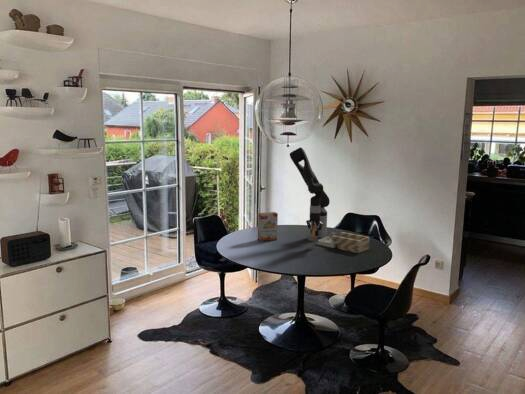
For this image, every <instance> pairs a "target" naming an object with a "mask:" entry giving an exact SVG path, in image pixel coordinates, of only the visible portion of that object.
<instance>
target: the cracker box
mask: <svg viewBox="0 0 525 394" xmlns="http://www.w3.org/2000/svg"><path fill="white" fill-rule="evenodd" d="M278 214H279V213H277V212H276V211H270V212H259V213H257V240H258V239H259V240H260V241H259V240H258V241H259V242H263V241H262V240H270V241H275V240H274V239H277V240H278V220H279V219H278V218H279V217H278Z"/></svg>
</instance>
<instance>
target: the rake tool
mask: <svg viewBox="0 0 525 394" xmlns="http://www.w3.org/2000/svg"><path fill="white" fill-rule="evenodd" d="M315 231H316V229H315V226H313V228H312V233H311V232H310V236H309V235H308V237H307V241H311V242H316V243H317V242H318V240H319V239H320V238H318V237H317V236H315Z"/></svg>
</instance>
